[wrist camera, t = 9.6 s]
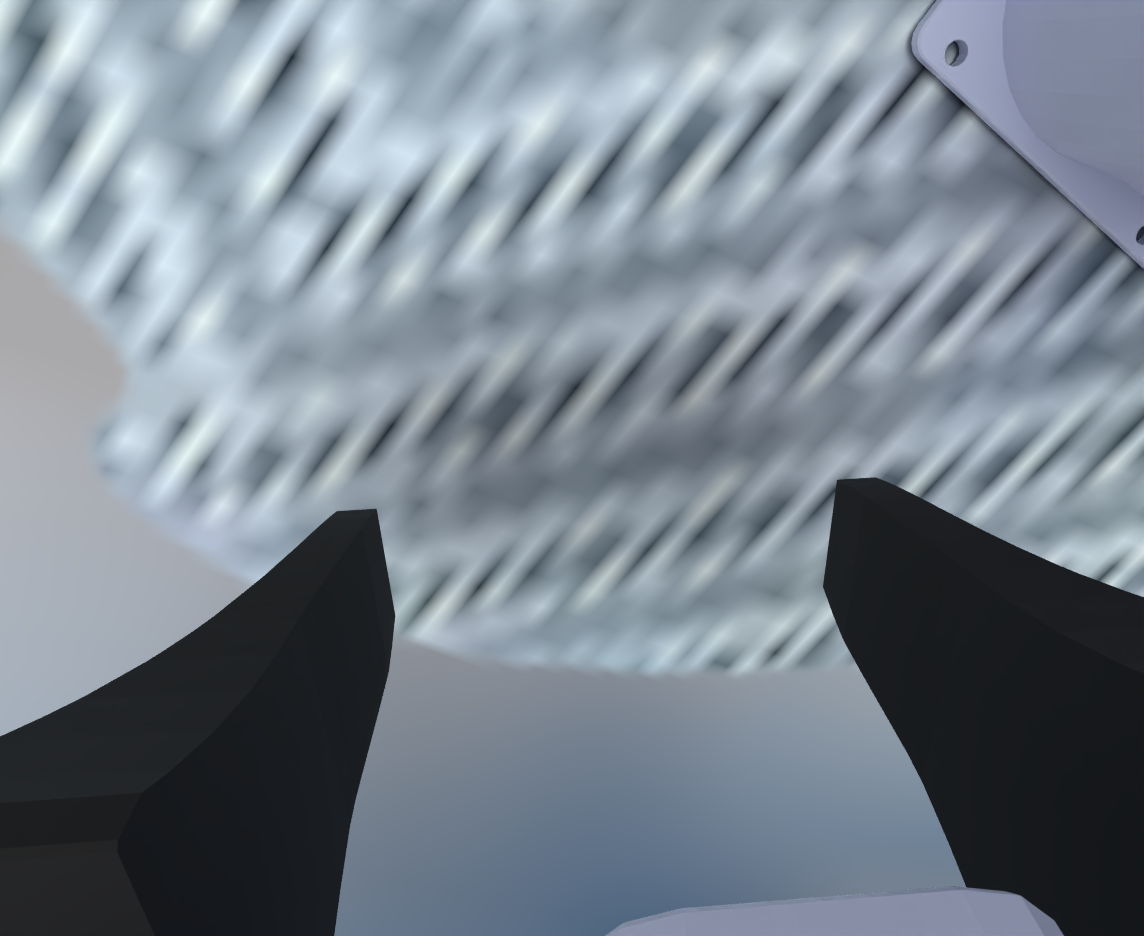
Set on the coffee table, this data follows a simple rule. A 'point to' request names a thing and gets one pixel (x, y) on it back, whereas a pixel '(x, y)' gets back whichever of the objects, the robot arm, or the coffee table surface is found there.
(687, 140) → the coffee table surface
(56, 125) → the coffee table surface
